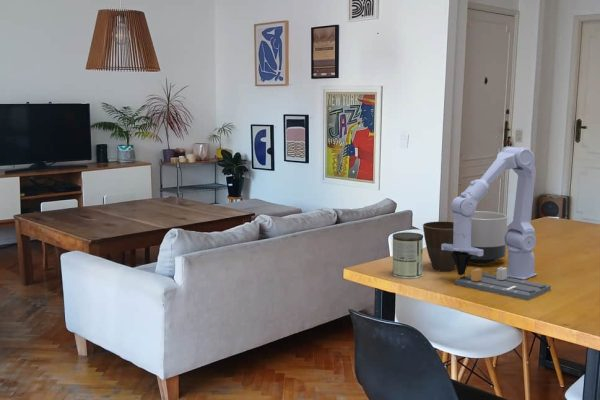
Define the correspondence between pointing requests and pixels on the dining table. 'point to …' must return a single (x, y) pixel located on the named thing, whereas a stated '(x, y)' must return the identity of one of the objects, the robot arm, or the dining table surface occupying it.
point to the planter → (488, 236)
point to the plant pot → (439, 244)
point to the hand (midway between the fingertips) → (461, 274)
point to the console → (505, 286)
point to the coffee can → (407, 255)
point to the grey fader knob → (501, 273)
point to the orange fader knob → (476, 274)
